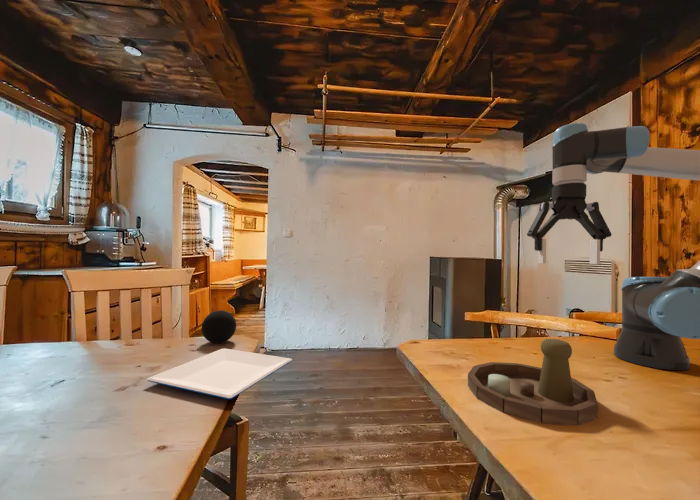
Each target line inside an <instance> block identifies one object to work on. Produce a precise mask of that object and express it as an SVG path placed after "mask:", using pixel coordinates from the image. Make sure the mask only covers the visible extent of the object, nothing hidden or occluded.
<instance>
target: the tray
mask: <svg viewBox="0 0 700 500" xmlns="http://www.w3.org/2000/svg"><path fill="white" fill-rule="evenodd" d="M541 369H542V367H539V366H535V365H529V364H523V363H517V362H500V361H499V362H496V361H495V362H494V361H493V362H491V361H490V362H486V363H481V364H475V365H473V366H472V367H471V369H470V370H469V372H468V373H467V386H468V388H469V390H470V392H471V393H472V395H473V396H474V397H475V398H476V399H477V400H479V401H481V402H482V403H484V404H485V405H487V406H489V407H490V408H492V409H494V410H497V411H498V412H502V413H504V414H507V415H509V416H512V417H516V418H519V419H522V420H526V421H530V422H536V423H540V424H546V425H554V426H555V425H556V426H579V425H585V424H586V423H590V422H592V421H594V420H595V419H597V417H598V399H597V397H596V396H597V395H596V393H595V391H594V390H593V389H592V388H590V387H589V386H587V385H585V384H583V383H582V382H581V381H579V380H577V379H576V378H573V377H571V381H572V388H573V395H574V401H572V402H568V403H567V402H557V401H553V400H550V399H547V398H545V397H543V396H541V395H540V394H539V393H538V387H539V381H540V375H541ZM490 374H499V375H504V376H506V377H508V378H509V379H510V396H509V397H506V396H504V395H502V394H499V393H497V392H495V391H493V390H491V389H489V388H488V375H490Z"/></svg>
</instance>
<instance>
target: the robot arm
mask: <svg viewBox="0 0 700 500" xmlns="http://www.w3.org/2000/svg"><path fill="white" fill-rule="evenodd" d="M650 134H651V133H650V130H649V128H648V127H647V126H644V125H639V126H638V125H635V126H630V125H628V126H625V127H618V128H616V127H615V128H609V129H608V128H607V129H602V130H601V129H600V130H590V131H589V129H588V126H587V124H585V123H583V122H582V123H581V122H580V123H578V122H574V123H569V124H564V125H561V126H559V127H558V128H557V129H556V130H555V131H554V132H553V135H552V137H553V138H552V147H551V149H552V151H551V154H552V156H551V157H552V176H551V177H552V178H551V179H552V180H551V182H552V186H553V187H552V188H551V199H552V201H551V202H549V201H545V202H541V203H540V204H539V210H538V212H537V214H536V216H535V217H534V220H533V222H532V223H531V225H530V227H529V228H528V231H527V233H526V235H527V237H530V238H532V239H533V240H534V251H536V252H537V264H547V239H546V238H544V237H545V236H546V234H548V232H550V230H551V229H552V228H553V227H554V226H555V225H556V224H557V223H558V222H559V221H560V220H570V221H571V220H575V221H577V222H578V223H579V224H580V225H581V226H582V228H584V229H585V231H586V232H587V233H588V235H590V237H592V239H589V265H600V264H601V252H603V250H604V247H603V245H604V240H605V239H607V238H610V237H612V232H611V230H610V228H609V226H608V224H607V223H606V221H605V219H604V216H603V215H602V213H601V211H600V205H599V204H600V203H599V202H598V201H594V202H593V201H592V202H588V203H587V202H586V197H587V184H586V182H587V179H588V178H587V176H588V175H587V174H590V175H597V174H602V173H616V174H626V175H627V174H628V175H637V176H649V177H656V178H668V179H679V180H689V181H698V182H699V181H700V149H684V148H683V149H682V148H667V147H653V146H652V147H651V146H649V144H650V140H651V139H650V138H651V137H650V136H651V135H650ZM550 210H552V211H553V213H552V214H551V215H550V216H549V219H547V221H545V223H544V224H543V222H544V220H545V218H546V217H547V215H548V213H549V211H550ZM586 211H587V212H588V214H587V213H586ZM589 217H590V218H589ZM542 224H543V225H542ZM620 289H621V292H622V293H621V299H622V301H621V302H622V303H621V331H620V333H619V335H618V337H617V339H616V342H615V344H614V346H613V355H614V356H615V357H617V358H618V359H621V360H623V361H626V362H629V363H631V364H636V365H640V366H645V367H649V368H655V369H661V370H662V369H663V370H666V371H667V370H668V371H669V370H670V371H686V370H690V368H691V358H690V357H689V355H688V353H687V351H686V348H685V345H684V342H683V340H682V338H684V339H691V340H700V260H698V261H697V262H696V263H695V264H694V265H693V266H691V268H684V269H683V268H681V269H676V270H675V271H674V272H672V273H671V274H670V275H669V276H667V277H666V276H665V277H664V276H631V277H626V278H624V279H623V280H622V286H621V288H620Z"/></svg>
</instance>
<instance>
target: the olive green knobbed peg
mask: <svg viewBox="0 0 700 500" xmlns="http://www.w3.org/2000/svg"><path fill="white" fill-rule="evenodd" d="M540 350H541V353H542V355H543V358H542V363H541V364H542V365H541V368H542V369H541V375H540V381H539V387H538V393H539V394H540V395H541V396H543V397H545V398H547V399H550V400H553V401H557V402H567V403H568V402H572V401H574V395H573V388H572V381H571V378H572V376H571V368H570V362H569V361H570V360H569V359H570V358H571V356H572V355H573V348H572V345H570V343H569V342H567V341H565V340H561V339H556V338H545V339H543V340H542V342H541V343H540Z"/></svg>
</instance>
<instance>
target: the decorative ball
mask: <svg viewBox="0 0 700 500" xmlns="http://www.w3.org/2000/svg"><path fill="white" fill-rule="evenodd" d="M236 330H237V321H236V319H235V316H233V314H231V312H229V311H227V310H215V311H212V312H210V313H209V314H208V315H206V316H205V318H204V319H203V321H202V324H201V333H202V335H203V337H204V339H205V340H207V341H208V342H210V343H213V344H223V343H225V342H227V341H229V340H230V339H231V338H232V337H233V336H234V335H235V332H236Z"/></svg>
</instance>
